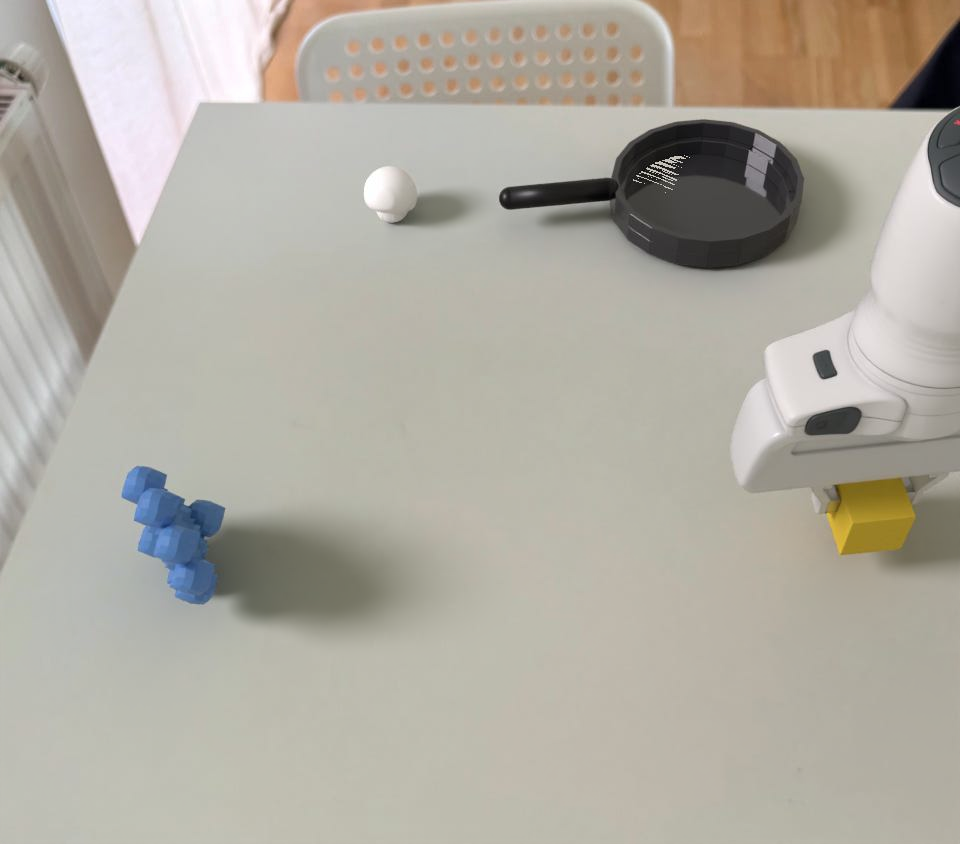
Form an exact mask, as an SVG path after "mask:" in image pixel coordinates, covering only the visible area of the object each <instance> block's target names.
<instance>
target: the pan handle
mask: <svg viewBox="0 0 960 844" xmlns="http://www.w3.org/2000/svg"><path fill="white" fill-rule="evenodd" d="M618 188H619V186H618V183H617V182H616V180H614V179H612V178H611V177H599V178H589V179H577V180H567V181H558V182H556V181H555V182H545V183H534V184H525V185H513V186H507V187H505V188H503V189H502V190H501V191H500V192H499V196H498V202H499V204H500V206H501V207H502V208H503V209H505V210H508V211H511V210H514V211H515V210H522V209H532V208H533V209H534V208H545V207H554V206H557V207H558V206H567V205H578V204H587V203H597V202H598V203H599V202H610V200H612V199H614V197H615V191H617V190H618Z"/></svg>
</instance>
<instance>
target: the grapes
mask: <svg viewBox="0 0 960 844" xmlns="http://www.w3.org/2000/svg"><path fill="white" fill-rule="evenodd" d="M167 478H168V474H166V473H164V472H162V471H160V470H158V469H155V468H153V467H150V466H143V465H136V466H135V467H133V468H131V470H129V471H128V472H127V474H126V477H125V480H124V483H123V485H122V491H121V499H123V500H126V501H128V502H130V503H132V504H136V508H135V511H134V516H133V521H134V522H136V523H139V524H141V525H142V526H144V527H143V530H142V532H141V535H140V538H139V541H138V545H137V551H138V552H139V553H142V554H144V555H147V556H149V557H152V558H153V559H154V558H156V559H158V560H161V562H162V563H163V564H165V566H164V568H166V569H167V570H169V572H168V575H167V576H168V577H167V580H166V583H167V585H169V588H171V589H173V590H175V593H174V598H176V599H178V600H181V601H184V602H186V603H188V604H191V605H206V603H208V602H209V601H210V600H211V599H212V598H213V596H214V593H215V591H216V587H217V583H218V578H219V574H217V573H215V566H216V564H215V563H214V562H210V561H208V560H206V558H207V557H206V556H207V554H208V550H209V547H210V545H207V544H208V539H205V538H212V537H213V536H215V535H216V534H217V533H219V531H220V529H221V527H222V524H223V521H224V517H225V513H226V507H225V506H222V505H220V504H218V503H216V502H213V501H211V500H207V499H195V500H194V501H193V502H192V503H190V504H189V505H186V504H185V501H186V498H184V497H181V496H179V495H178V494H176V493H173V492H171V491H169V489H168V488H165V486H166V482H167Z"/></svg>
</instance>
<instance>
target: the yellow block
mask: <svg viewBox="0 0 960 844" xmlns="http://www.w3.org/2000/svg"><path fill="white" fill-rule="evenodd" d="M836 485H837V488H838V489H837V491H838V492H839V494H840V497H841V503H840V506H839V507H838V511H837V512H833V513H825V514H826V518H827V520H828V523H829V526H830V529H831V532H832V535H833V539H834V541H835V544H836V548H837V551H838V554H839V556H848V555H855V554H857V555H858V554H866V553H875V552H886V551H894V550H900V549H902V548H903V546H904V543H905V541H906V539H907V537H908V534H909V532H910V530H911V529H912V527H913V524H914V522H915V520H916V518H917V515H916V511H915V510H914V508H913V504H911V502H910V499H909V497H908V494H907V491H906V489H905V486H904V484H903V481H902V478H892V479H883V480H874V481H864V482H855V483H846V484H836Z"/></svg>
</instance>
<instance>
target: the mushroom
mask: <svg viewBox="0 0 960 844" xmlns="http://www.w3.org/2000/svg"><path fill="white" fill-rule="evenodd" d="M363 199H364V203H365V205H366V206H367V207H369V209H371V210H373V211H375V212H376V214H377V216H378V218H379V219H380V220H382V221H384V222H385V223H391V224H392V223H393V224H394V223H398V222H401V221H403V220H404V219H405V218H406V217H407V214H408V213H409V212H410V211H412V210H413V209H414V208H415V207H416V205H417V202H418V190H417V186H416V183H415V182H414V179H413V178H412V176H411V175H410V174H409V173H407V171H405V169H402V168H400V167H397V166H392V165H387V166H382V167H379V168H378V169H375V170H374V171H373V172H371V174H370V175H369V176H368V178H367V179H366V180H365V183H364V187H363Z"/></svg>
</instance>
